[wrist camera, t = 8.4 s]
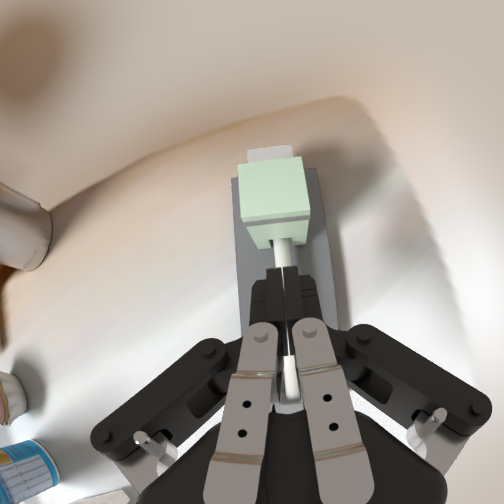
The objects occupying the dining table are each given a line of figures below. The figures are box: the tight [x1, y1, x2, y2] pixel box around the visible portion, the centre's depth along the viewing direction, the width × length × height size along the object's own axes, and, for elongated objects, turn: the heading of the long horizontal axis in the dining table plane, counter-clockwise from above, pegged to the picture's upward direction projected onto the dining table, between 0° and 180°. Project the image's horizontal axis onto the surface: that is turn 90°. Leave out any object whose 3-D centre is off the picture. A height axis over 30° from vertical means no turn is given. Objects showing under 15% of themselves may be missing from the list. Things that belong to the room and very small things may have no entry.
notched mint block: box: [237, 157, 311, 249], centre depth 20 cm, size 4×4×8 cm
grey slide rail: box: [231, 144, 338, 414], centre depth 22 cm, size 21×8×6 cm, turn 4°
